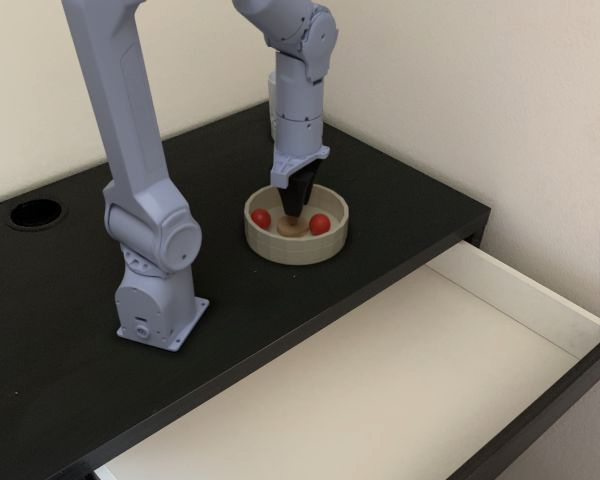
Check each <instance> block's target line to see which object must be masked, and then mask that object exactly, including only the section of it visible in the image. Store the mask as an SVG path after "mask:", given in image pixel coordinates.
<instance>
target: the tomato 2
mask: <svg viewBox="0 0 600 480" xmlns="http://www.w3.org/2000/svg"><path fill="white" fill-rule="evenodd" d="M330 226H331V223H330V220H329V218H328V217H327V216H326V215H324V214H315V215H314V216H312V218H311V219H310V221H309V228H310V231H311V232H312V233H313V234H314V235H317V236H318V235H321V234H324V233H326V232H328V231H329V230H330Z"/></svg>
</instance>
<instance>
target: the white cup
mask: <svg viewBox="0 0 600 480" xmlns="http://www.w3.org/2000/svg"><path fill="white" fill-rule="evenodd" d="M267 88H268V89H267V90H268V92H267V93H268V108H269V119H270V120H269V121H270V131H271V138H272V140H273V141H274V142H275V141H276V68H274V69H272V70H270V71H269V72H268V74H267Z"/></svg>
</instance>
